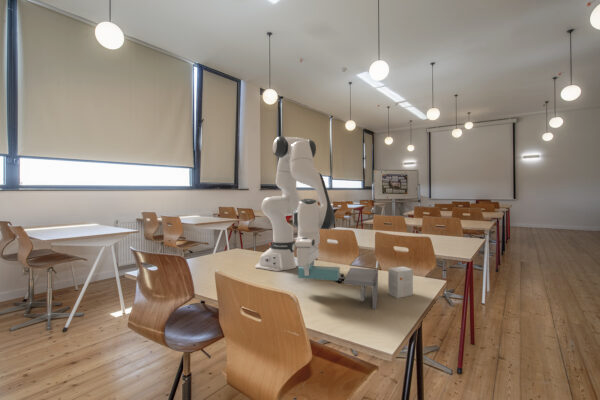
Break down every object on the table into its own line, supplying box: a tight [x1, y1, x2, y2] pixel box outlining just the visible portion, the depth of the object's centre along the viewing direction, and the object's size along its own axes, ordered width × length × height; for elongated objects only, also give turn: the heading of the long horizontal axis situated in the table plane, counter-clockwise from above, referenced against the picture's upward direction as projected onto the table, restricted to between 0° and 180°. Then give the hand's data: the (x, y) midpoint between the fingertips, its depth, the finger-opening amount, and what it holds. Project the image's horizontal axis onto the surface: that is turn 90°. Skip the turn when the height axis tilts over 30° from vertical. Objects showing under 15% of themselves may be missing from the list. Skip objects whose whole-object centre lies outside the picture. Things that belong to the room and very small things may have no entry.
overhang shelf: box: [343, 267, 379, 310], centre depth 115 cm, size 11×18×10 cm, turn 163°
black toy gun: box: [335, 273, 346, 284], centre depth 148 cm, size 27×2×10 cm
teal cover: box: [297, 265, 341, 282], centre depth 120 cm, size 16×5×4 cm, turn 74°
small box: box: [387, 265, 414, 299], centre depth 119 cm, size 8×6×10 cm
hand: (309, 273), depth 121 cm, fingers closed on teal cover, 5 cm apart
